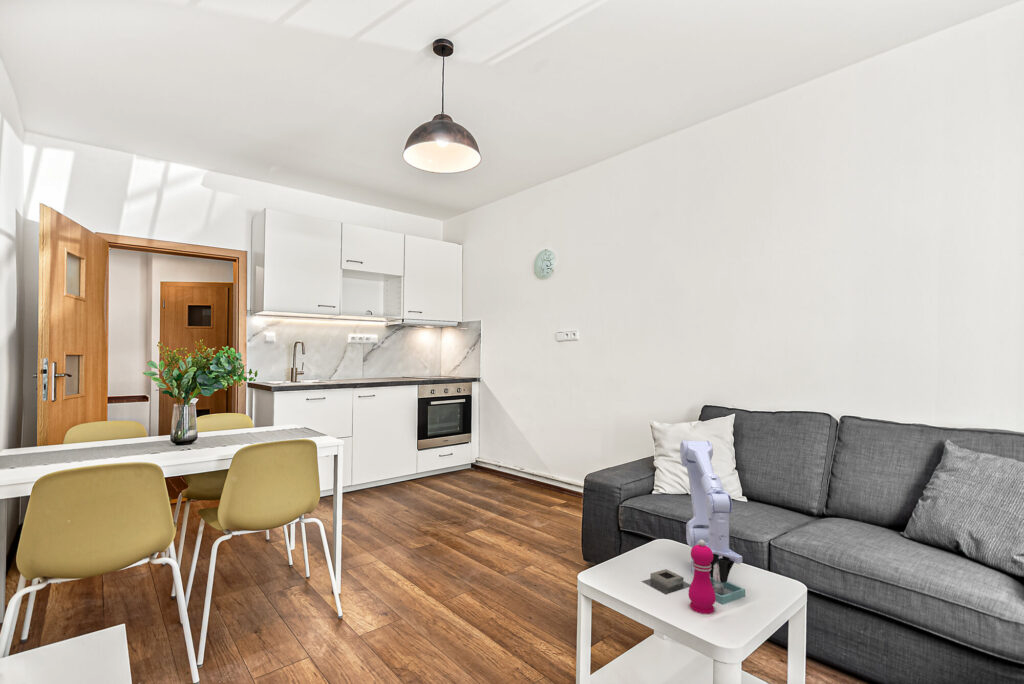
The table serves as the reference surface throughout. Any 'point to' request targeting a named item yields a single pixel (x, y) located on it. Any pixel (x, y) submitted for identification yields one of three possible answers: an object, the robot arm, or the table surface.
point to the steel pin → (717, 579)
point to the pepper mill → (702, 580)
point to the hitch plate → (666, 581)
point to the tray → (734, 595)
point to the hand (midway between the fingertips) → (718, 579)
